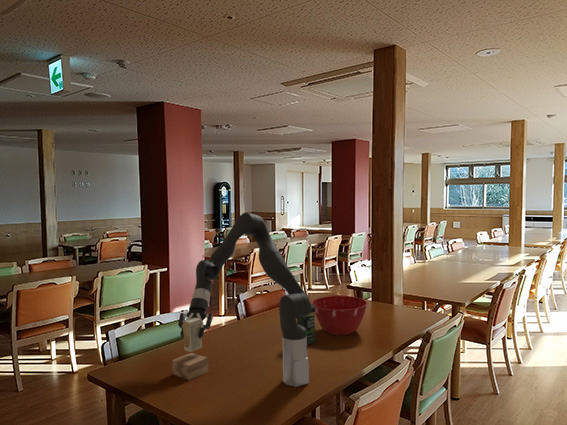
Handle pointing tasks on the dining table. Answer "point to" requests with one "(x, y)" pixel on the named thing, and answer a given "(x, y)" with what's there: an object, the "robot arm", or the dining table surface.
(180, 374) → the streaked beige block
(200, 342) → the skincare box
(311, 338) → the coffee jar
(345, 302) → the mixing bowl
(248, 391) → the dining table surface
